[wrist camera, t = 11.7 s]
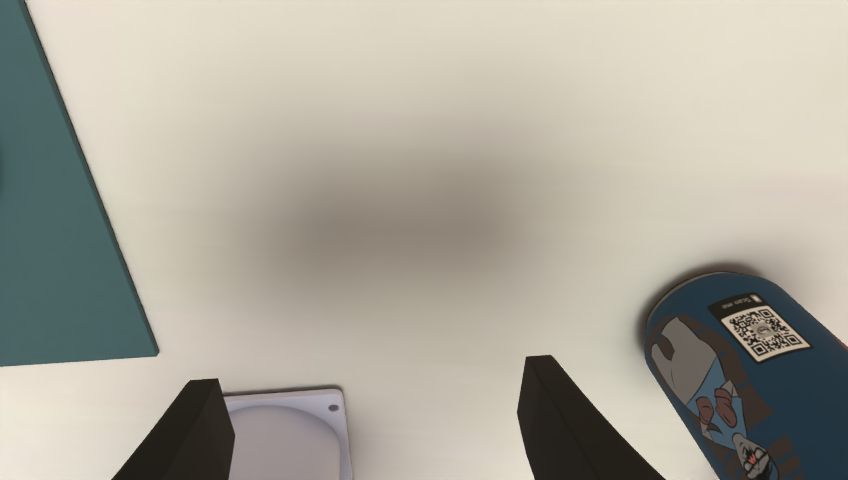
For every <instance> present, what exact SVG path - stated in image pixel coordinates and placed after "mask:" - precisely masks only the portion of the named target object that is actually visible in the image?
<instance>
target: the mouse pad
mask: <svg viewBox="0 0 848 480" xmlns="http://www.w3.org/2000/svg"><path fill="white" fill-rule="evenodd" d="M158 353H159V350H158V348H157V345H156V343H155V340H154V337H153V335H152V332H151V330H150V327H149V324H148V322H147V319H146V317H145V314H144V312H143V309H142V306H141V304H140V301H139V299H138V296H137V293H136V291H135V288H134V286H133V283H132V280H131V278H130V275H129V273H128V270H127V267H126V265H125V262H124V260H123V257H122V255H121V252H120V249H119V247H118V244H117V242H116V239H115V236H114V234H113V231H112V229H111V226H110V223H109V221H108V218H107V216H106V213H105V210H104V208H103V205H102V203H101V200H100V198H99V195H98V192H97V190H96V187H95V185H94V182H93V179H92V177H91V174H90V172H89V169H88V166H87V164H86V161H85V159H84V156H83V153H82V151H81V148H80V146H79V143H78V141H77V138H76V135H75V133H74V130H73V128H72V125H71V122H70V120H69V117H68V115H67V112H66V109H65V107H64V104H63V102H62V99H61V96H60V94H59V91H58V89H57V86H56V84H55V81H54V78H53V76H52V73H51V71H50V68H49V65H48V63H47V60H46V58H45V55H44V52H43V50H42V47H41V45H40V42H39V39H38V37H37V34H36V32H35V29H34V27H33V24H32V21H31V19H30V16H29V14H28V11H27V8H26V6H25V3H24V1H23V0H0V367H3V366H18V365H33V364H48V363H64V362H79V361H94V360H109V359H124V358H139V357H154V356H157V355H158Z"/></svg>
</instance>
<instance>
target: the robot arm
mask: <svg viewBox="0 0 848 480" xmlns="http://www.w3.org/2000/svg"><path fill="white" fill-rule="evenodd" d="M333 404H334V405H333ZM517 415H518V420H519V424H520V429H521V434H522V438H523V442H524V446H525V451H526V455H527V458H528V461H529V464H530V467H531V469H532V472H533V475H534V478H535V480H666V479H665V478H663V477H662V476H661V475H660V474H659V473H658V472H657V471H656V470H655V469H654V468H653V467H652V466H651V465H650V464H649V463H648V462H647V461H646V460H645V459H644V458H643V457H642V456H641V455H640V454H639V453H638V452H637V451H636V450H635V449H634V448H633V447H632V446H631V445H630V444H629V443H628V442H627V441H626V440H625V439H624V438H623V437H622V436H621V435H620V434H619V433H618V432H617V431H616V429H615V428H614V427H613V426H612V425H611V424H610V423H609V422H608V421H607V420H606V419H605V417H604V416H603V415H602V414H601V413H600V412H599V411H598V410H597V409H596V407H595V406H594V405H593V404H592V403H591V402H590V401H589V399H588V398H587V397H586V396H585V395H584V394H583V392H582V391H581V390H580V389H579V388H578V386H577V385H576V384H575V383H574V382H573V380H572V379H571V378H570V377H569V376H568V374H567V373H566V372H565V371H564V369H563V368H562V367H561V366H560V365H559V363H558V362H557V361H556V360H555V358H554V357H553V356H551V355H542V356H528V357H526V360H525V366H524V373H523V379H522V385H521V391H520V397H519V403H518V410H517ZM111 480H353V474H352V466H351V458H350V449H349V441H348V433H347V424H346V416H345V407H344V399H343V394H342V392H341V391H340V390H337V389H323V390H309V391H295V392H282V393H268V394H255V395H241V396H228V397H223V394H222V390H221V387H220V384H219V381H218V378H216V379H202V380H190V381H189V382H188V383H187V384H186V385H185V387H184V388H183V389H182V391H181V392H180V393H179V395H178V396H177V397H176V399H175V400H174V401H173V403H172V404H171V405H170V407H169V408H168V409H167V411H166V412H165V413H164V415H163V416H162V417H161V418H160V420H159V421H158V422H157V424H156V425H155V426H154V428H153V429H152V430H151V431H150V433H149V434H148V435H147V437H146V438H145V439H144V440H143V442H142V443H141V444H140V445H139V447H138V448H137V449H136V450H135V451H134V453H133V454H132V455H131V456H130V458H129V459H128V460H127V461H126V463H125V464H124V465H123V466H122V468H121V469H120V470H119V471H118V472H117V474H116V475H115V476H114V477H113V478H112V479H111Z"/></svg>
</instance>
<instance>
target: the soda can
mask: <svg viewBox="0 0 848 480" xmlns="http://www.w3.org/2000/svg"><path fill="white" fill-rule="evenodd" d="M644 353H645V360H646V363H647V365H648V367H649V369H650V371H651V372H652V374H653V375H654V377H655V379H656V380H657V382H658V383H659V385H660V386H661V388H662V390H663V391H664V393H665V394H666V396H667V397H668V399H669V401H670V402H671V404H672V405H673V407H674V408H675V410H676V412H677V413H678V415H679V416H680V418H681V419H682V421H683V422H684V424H685V426H686V427H687V429H688V430H689V432H690V433H691V435H692V437H693V438H694V440H695V441H696V443H697V444H698V446H699V448H700V449H701V451H702V452H703V454H704V455H705V457H706V459H707V460H708V462H709V463H710V465H711V466H712V468H713V469H714V471H715V473H716V474H717V476H718V477H719V479H720V480H848V347H847V346H846V345H845V344H844V343H842V342H841V341H840V340H839V339H838V338H837V337H836V336H835V335H833V334H832V333H831V332H830V331H829V330H828V329H827V328H826V327H824V326H823V325H822V324H821V323H820V322H819V321H818V320H817V319H815V318H814V317H813V316H812V315H811V314H810V313H809V312H807V311H806V310H805V309H804V308H803V307H802V306H801V305H800V304H798V303H797V302H796V301H795V300H794V299H793V298H792V297H791V296H789V295H788V294H787V293H786V292H785V291H784V290H783V289H782V288H780V287H779V286H778V285H776V284H775V283H773V282H771V281H768V280H766V279H763V278H760V277H755V276H750V275H745V274H738V273H730V272H713V273H707V274H703V275H700V276H697V277H694V278H691V279H689V280H687V281H685V282H683V283H681V284H680V285H678V286H676V287H675V288H673V289H672V290H671V291H669V292H668V293H667V294H666V295H665V296H664V297H663V298H662V299H661V300H660V301H659V302H658V303H657V304H656V306H655V307H654V309H653V310H652V312H651V314H650V316H649V318H648V321H647V325H646V333H645V344H644Z"/></svg>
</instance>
